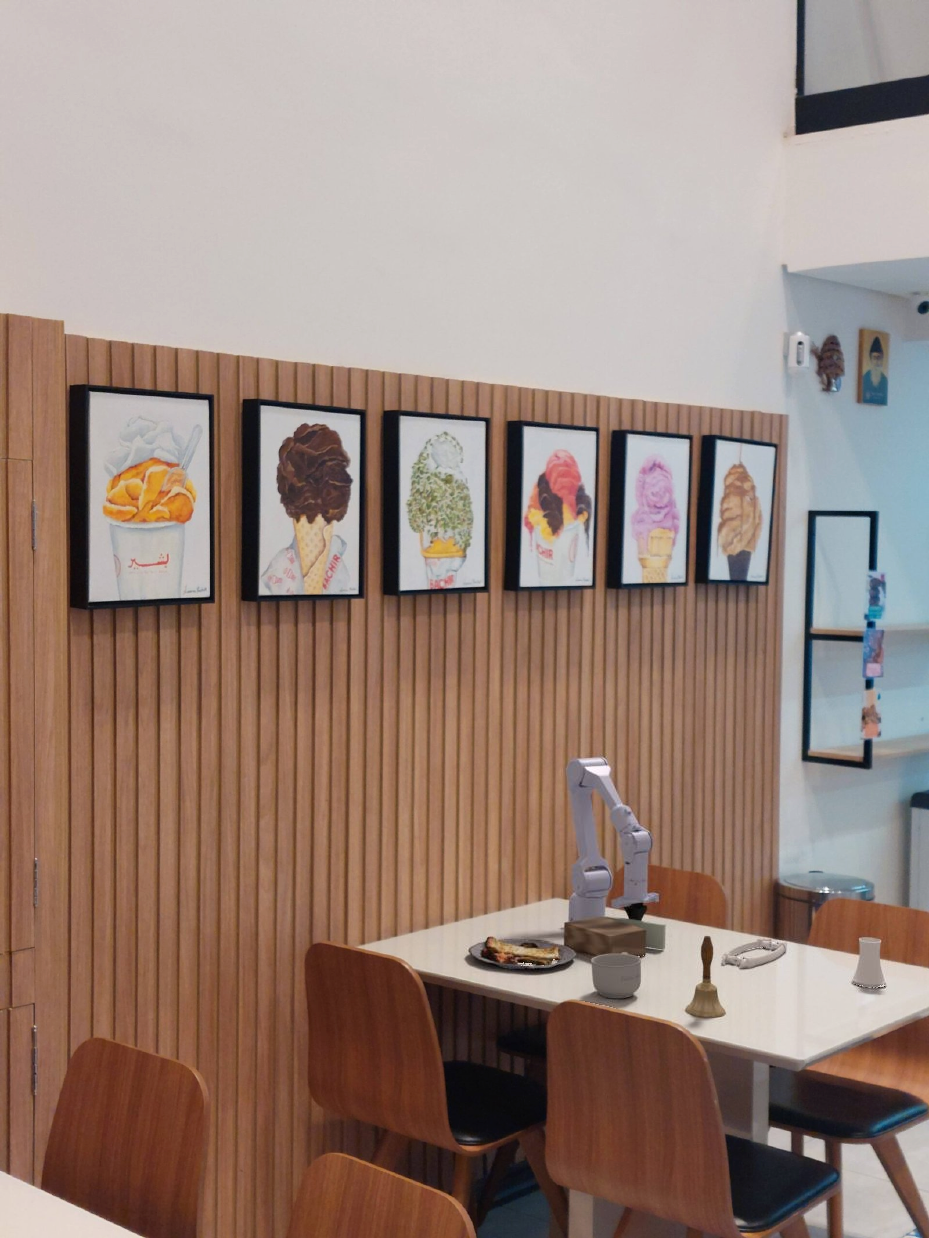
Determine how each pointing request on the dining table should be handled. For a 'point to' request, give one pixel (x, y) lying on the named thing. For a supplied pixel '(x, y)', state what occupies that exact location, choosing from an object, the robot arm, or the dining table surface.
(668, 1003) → the dining table surface
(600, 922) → the brown wooden block
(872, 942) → the cooling tower model
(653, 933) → the cabinet door
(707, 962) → the hand bell
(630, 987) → the teacup
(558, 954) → the food plate
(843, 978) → the dining table surface
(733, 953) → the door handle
